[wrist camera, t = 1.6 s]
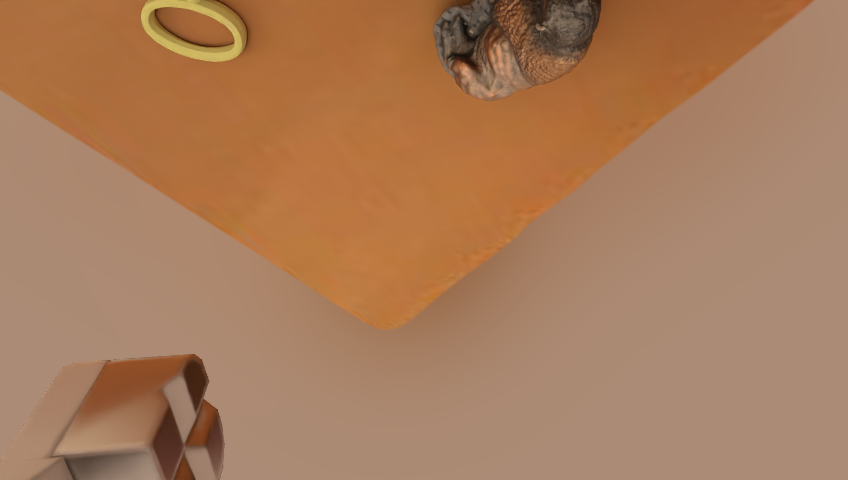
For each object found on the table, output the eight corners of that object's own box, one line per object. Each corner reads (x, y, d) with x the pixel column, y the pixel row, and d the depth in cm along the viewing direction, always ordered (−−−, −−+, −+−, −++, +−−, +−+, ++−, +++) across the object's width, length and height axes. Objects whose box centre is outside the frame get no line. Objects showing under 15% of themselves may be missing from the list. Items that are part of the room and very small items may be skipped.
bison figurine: (490, 93, 52) (483, 174, 44) (415, 31, 49) (394, 106, 42) (620, -31, 45) (638, 41, 38) (541, -110, 43) (543, -50, 35)
